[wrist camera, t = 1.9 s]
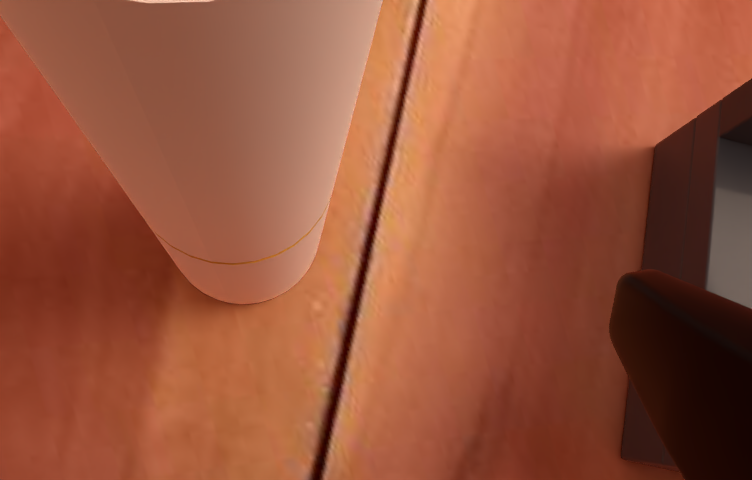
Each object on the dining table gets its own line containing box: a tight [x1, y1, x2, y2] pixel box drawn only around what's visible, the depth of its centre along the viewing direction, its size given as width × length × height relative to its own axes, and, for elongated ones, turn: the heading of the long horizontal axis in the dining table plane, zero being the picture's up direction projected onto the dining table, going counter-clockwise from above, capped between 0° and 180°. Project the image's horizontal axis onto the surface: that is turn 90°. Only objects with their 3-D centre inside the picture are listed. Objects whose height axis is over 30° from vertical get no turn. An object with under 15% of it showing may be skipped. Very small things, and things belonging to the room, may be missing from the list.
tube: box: [0, 0, 383, 304], centre depth 13 cm, size 4×4×15 cm
